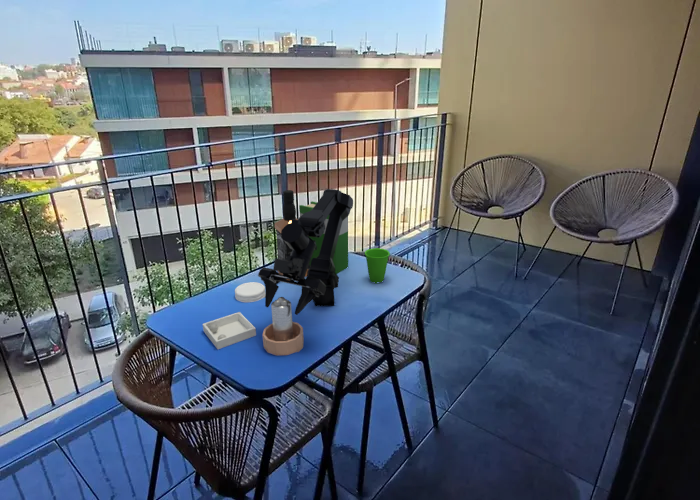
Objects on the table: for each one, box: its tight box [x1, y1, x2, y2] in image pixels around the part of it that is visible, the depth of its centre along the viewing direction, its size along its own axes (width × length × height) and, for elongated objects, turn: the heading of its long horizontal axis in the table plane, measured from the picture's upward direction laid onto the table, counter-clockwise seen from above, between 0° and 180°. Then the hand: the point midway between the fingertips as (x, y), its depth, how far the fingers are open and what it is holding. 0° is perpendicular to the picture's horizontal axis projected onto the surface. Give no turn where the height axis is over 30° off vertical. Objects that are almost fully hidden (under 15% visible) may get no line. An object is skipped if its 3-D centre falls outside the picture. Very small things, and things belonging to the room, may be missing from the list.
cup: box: [364, 247, 391, 284], centre depth 149 cm, size 9×9×11 cm
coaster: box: [234, 281, 266, 303], centre depth 139 cm, size 10×10×4 cm
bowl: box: [262, 321, 305, 356], centre depth 113 cm, size 11×11×4 cm
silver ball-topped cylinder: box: [270, 296, 293, 341], centre depth 111 cm, size 5×5×14 cm
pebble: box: [209, 324, 218, 333], centre depth 118 cm, size 2×2×2 cm
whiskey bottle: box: [274, 189, 308, 280], centre depth 151 cm, size 10×10×32 cm
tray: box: [202, 311, 257, 350], centre depth 118 cm, size 11×11×3 cm
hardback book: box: [298, 201, 349, 275], centre depth 160 cm, size 18×7×24 cm, turn 54°
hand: (280, 310), depth 109 cm, fingers open, 9 cm apart
